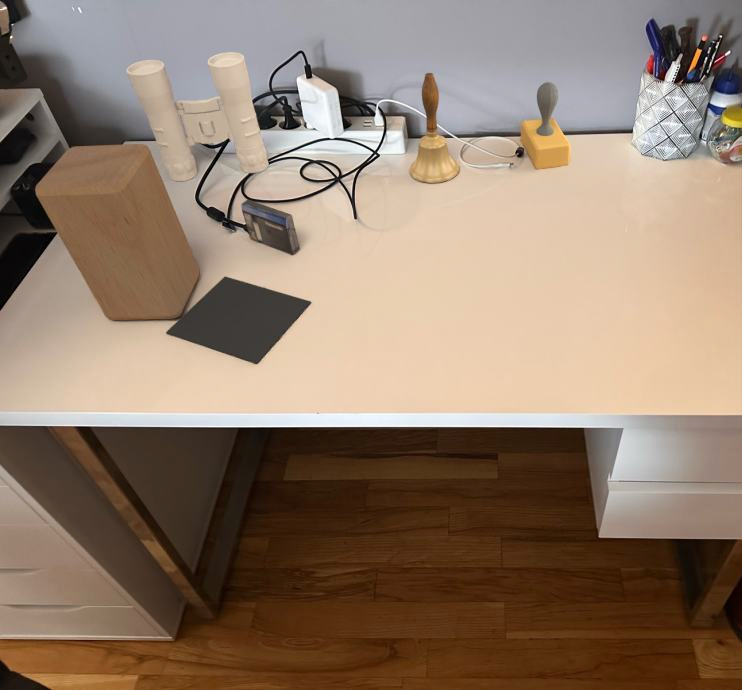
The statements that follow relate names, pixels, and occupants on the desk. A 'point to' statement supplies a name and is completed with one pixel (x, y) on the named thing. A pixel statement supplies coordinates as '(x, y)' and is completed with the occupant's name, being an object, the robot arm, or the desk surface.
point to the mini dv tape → (270, 227)
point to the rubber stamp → (545, 132)
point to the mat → (239, 319)
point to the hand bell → (432, 143)
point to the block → (121, 230)
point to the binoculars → (201, 115)
